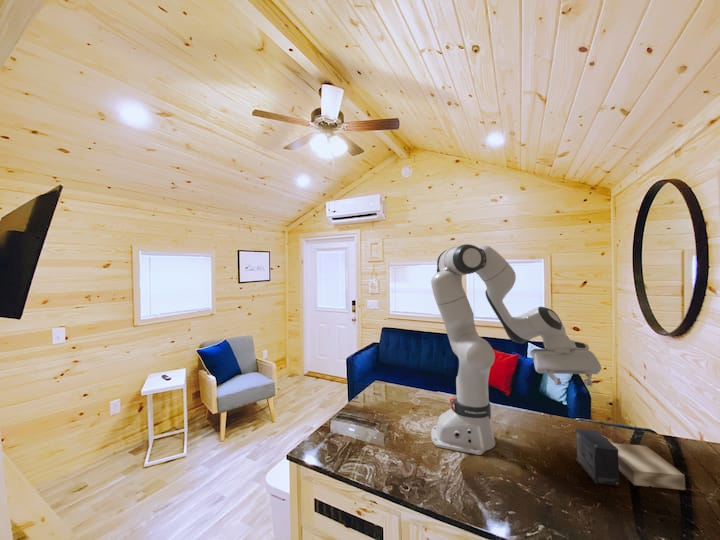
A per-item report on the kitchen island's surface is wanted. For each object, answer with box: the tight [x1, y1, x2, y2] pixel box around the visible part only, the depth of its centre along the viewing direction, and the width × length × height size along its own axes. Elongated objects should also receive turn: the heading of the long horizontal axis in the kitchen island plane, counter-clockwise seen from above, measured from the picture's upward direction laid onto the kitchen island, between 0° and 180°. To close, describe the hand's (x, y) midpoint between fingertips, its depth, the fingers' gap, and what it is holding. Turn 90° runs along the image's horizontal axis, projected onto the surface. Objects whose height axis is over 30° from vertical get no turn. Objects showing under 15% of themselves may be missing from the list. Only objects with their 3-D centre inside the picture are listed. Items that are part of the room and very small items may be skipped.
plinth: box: [610, 442, 686, 491], centre depth 88 cm, size 12×14×4 cm
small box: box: [575, 428, 620, 487], centre depth 88 cm, size 11×6×10 cm, turn 168°
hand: (573, 384), depth 100 cm, fingers open, 8 cm apart
